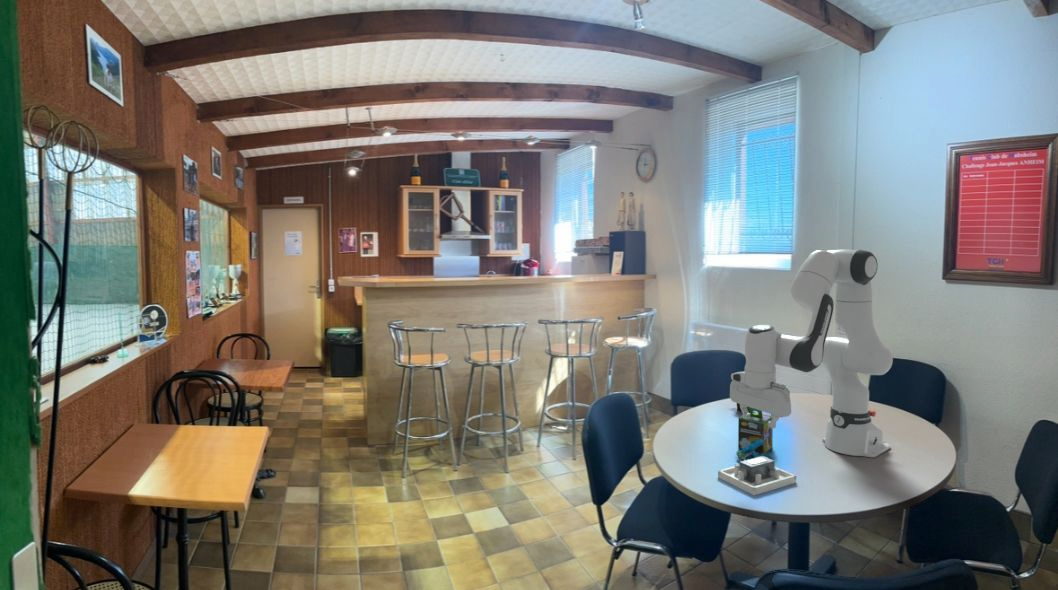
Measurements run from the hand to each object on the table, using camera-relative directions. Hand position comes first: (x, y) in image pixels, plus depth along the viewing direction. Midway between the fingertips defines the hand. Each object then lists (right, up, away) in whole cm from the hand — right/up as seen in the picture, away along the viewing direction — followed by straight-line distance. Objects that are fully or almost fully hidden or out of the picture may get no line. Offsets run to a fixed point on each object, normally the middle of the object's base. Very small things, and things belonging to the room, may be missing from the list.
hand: (758, 423), depth 172 cm
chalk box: (+10, -15, +28) cm, 34 cm away
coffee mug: (+23, -11, +73) cm, 77 cm away
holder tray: (0, -18, +2) cm, 18 cm away
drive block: (0, -17, +2) cm, 17 cm away
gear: (+4, -17, +18) cm, 25 cm away
